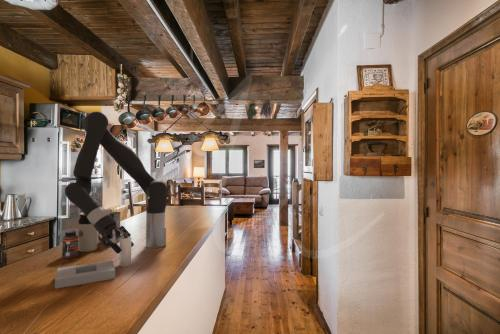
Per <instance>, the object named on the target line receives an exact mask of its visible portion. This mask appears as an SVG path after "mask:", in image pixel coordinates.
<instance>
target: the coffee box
mask: <svg viewBox="0 0 500 334" xmlns="http://www.w3.org/2000/svg"><path fill="white" fill-rule="evenodd" d="M106 211H107V212H108V213H109V214H110V215H111V216H112V217H113V219H114V220H115V221H116V226H117V227H118V228H120V227H121V211H108V210H106ZM99 234H100V233H99V232H97V236H98V235H99ZM118 242H119V243H120V240H119V239H115V243H117V244H118ZM106 243H108V242H107V241H106ZM97 244H103V243H102V242H101V240H100V239H99V238H98V237H97Z"/></svg>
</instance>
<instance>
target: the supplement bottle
mask: <svg viewBox="0 0 500 334" xmlns="http://www.w3.org/2000/svg"><path fill="white" fill-rule="evenodd" d="M78 237H79V235H77V230H67V231H65V235H64V236H63V237H62V244H61V246H62V248H61V250H62V253H61V256H62V258H63V259H72V258H76V257H77V256H79V251H78Z"/></svg>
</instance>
